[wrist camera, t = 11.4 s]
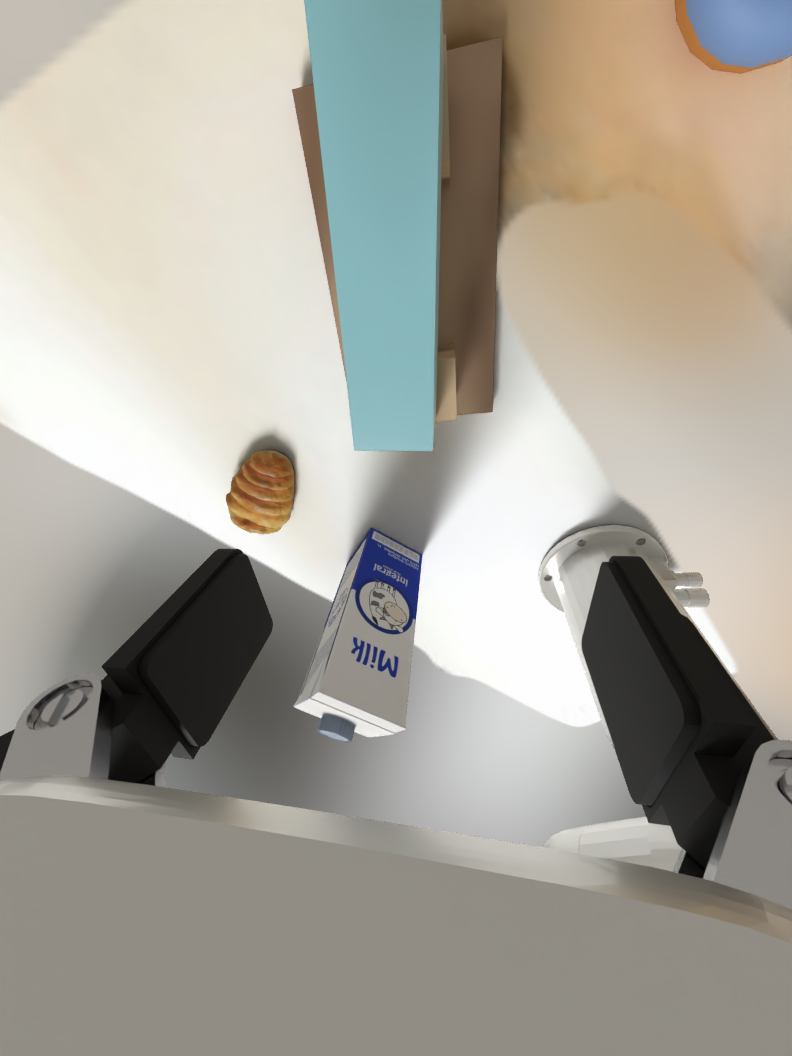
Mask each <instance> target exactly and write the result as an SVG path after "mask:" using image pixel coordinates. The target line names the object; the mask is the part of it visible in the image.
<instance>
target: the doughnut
mask: <svg viewBox="0 0 792 1056" xmlns="http://www.w3.org/2000/svg"><path fill="white" fill-rule="evenodd" d="M675 9H676V20H677V23H678V26H679V28H680V30H681V32H682V35H683V37H684V39H685V41H686V44H687V46H688V48H689V50H690V52H691V53H692V54H693V55H695V56H696V57H697V58H698V59H700V60H701V61H702V62H703V63H705V64H706V65H707V66H708V67H710V68H711V69H712V70H719V71H726V72H733V73H740V74H741V73H745V72H748V71H751V70H755V69H758V68H762V67H765V66H769V65H772V64H776V63H778V62H781V61H783V60H784V59H786V58H788V57H790V56H792V0H675Z"/></svg>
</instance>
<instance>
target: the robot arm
mask: <svg viewBox="0 0 792 1056" xmlns="http://www.w3.org/2000/svg"><path fill="white" fill-rule="evenodd" d="M702 583H703V578H702V576H701V574H700V573H674V572H673V571H670V570H669V569H668V558H667V556H666V553H665V551H664V549H663V548H662V547H661V545H660V544H659V543H658V541H657V540H655V539H654V538H653V537H652V536H651V535H650V534H648V533H646V532H644V531H642V530H640V529H636V528H633V527H630V526H622V525H604V526H598V527H592V528H589V529H585V530H582V531H579V532H577V533H575V534H573V535H571V536H568V537H567V538H565V539H564V540H562V541H561V542H559V543H558V544H557V545H556V546H555V547H553V548H552V549H551V550H550V551H549V553H548V554H547V555H546V557H545V558H544V560H543V562H542V564H541V566H540V570H539V584H540V587H541V591H542V593H543V595H544V597H545V598H546V600H547V601H548V602H549V603H550V604H551V605H553V606H554V607H555V608H557V609H558V610H560V611H562V612H564V613H565V615H566V618H567V621H568V624H569V627H570V630H571V633H572V636H573V639H574V642H575V645H576V648H577V650H578V653H579V656H580V659H581V662H582V665H583V668H584V671H585V674H586V677H587V680H588V683H589V685H590V688H591V691H592V694H593V697H594V700H595V703H596V706H597V709H598V712H599V715H600V718H601V721H602V724H603V727H604V730H605V732H606V734H607V737H608V739H609V741H610V743H611V744H612V746H613V748H614V749H615V751H616V754H617V757H618V760H619V763H620V766H621V769H622V772H623V775H624V778H625V781H626V784H627V787H628V790H629V793H630V795H631V797H632V799H633V801H634V802H635V803H636V804H642V806H643V809H644V812H645V815H646V817H640V818H633V819H626V820H620V821H613V822H605V823H599V824H591V825H587V826H581V827H575V828H571V829H567V830H563V831H561V832H558V833H556V834H555V835H553V836H552V837H550V838H549V839H548V840H547V841H546V842H545V844H544V845H543V847H538V846H532V845H526V844H520V843H513V842H508V841H501V840H495V839H489V838H483V837H476V836H471V835H464V834H458V833H452V832H445V831H440V830H434V829H428V828H421V827H415V826H409V825H403V824H396V823H390V822H383V821H378V820H371V819H364V818H359V817H352V816H346V815H340V814H333V813H327V812H320V811H314V810H308V809H302V808H295V807H289V806H283V805H276V804H269V803H263V802H257V801H250V800H243V799H237V798H230V797H224V796H217V795H211V794H204V793H198V792H191V791H185V790H178V789H171V788H166V776H165V761H166V759H167V758H168V756H169V755H170V753H171V754H172V755H173V756H174V757H179V758H185V759H194V757H195V755H196V754H197V752H198V750H199V749H200V747H201V746H204V745H205V744H206V743H207V742H208V741H209V739H210V738H211V736H212V734H213V732H214V731H215V729H216V727H217V725H218V724H219V722H220V720H221V719H222V717H223V715H224V713H225V712H226V710H227V708H228V706H229V705H230V703H231V701H232V699H233V698H234V696H235V694H236V693H237V691H238V689H239V687H240V686H241V684H242V682H243V680H244V679H245V677H246V675H247V673H248V672H249V670H250V668H251V667H252V665H253V663H254V661H255V660H256V658H257V656H258V654H259V653H260V651H261V649H262V648H263V646H264V644H265V642H266V641H267V639H268V637H269V635H270V634H271V631H272V627H273V622H272V618H271V616H270V613H269V611H268V608H267V605H266V603H265V600H264V597H263V595H262V592H261V590H260V587H259V584H258V582H257V579H256V577H255V574H254V571H253V569H252V566H251V563H250V561H249V559H248V556H247V555H245V554H243V552H242V551H241V550H239V549H218V550H216V551H215V552H214V553H213V554H212V555H211V556H210V557H209V558H208V559H207V560H206V561H205V562H204V563H203V564H202V565H201V566H200V567H199V568H198V569H197V570H196V571H195V572H194V573H193V574H192V575H191V576H190V577H189V578H188V579H187V580H186V581H185V582H184V583H183V584H182V585H181V587H179V588H178V589H177V590H176V591H175V592H174V594H172V595H171V596H170V598H169V599H168V600H167V601H166V602H165V603H164V604H163V605H162V606H161V607H160V608H159V609H158V610H157V611H156V612H155V613H154V614H153V615H152V616H151V617H150V618H149V619H148V620H147V621H146V622H145V623H144V624H143V625H142V626H141V627H140V628H139V629H138V630H137V631H136V632H135V633H134V634H133V635H132V636H131V637H130V638H129V639H128V640H127V641H126V642H125V643H124V644H123V645H122V646H121V647H120V648H119V649H118V651H116V652H115V653H114V654H113V655H112V656H111V657H110V658H109V659H108V661H106V663H105V664H104V665H103V666H102V668H103V669H104V670H105V672H106V673H107V674H108V675H107V676H106V677H105V678H104V679H103V680H101V679H100V678H99V677H98V676H97V675H94V674H80V675H76V676H73V677H70V678H67V679H65V680H63V681H61V682H59V683H57V684H55V685H53V686H52V687H50V688H49V689H47V690H46V691H44V692H43V693H42V694H40V695H39V696H38V697H37V698H36V699H35V700H33V701H32V702H31V703H30V704H29V706H28V707H27V708H26V709H25V710H24V712H23V713H22V715H21V717H20V718H19V720H18V722H17V726H16V728H15V729H14V730H12V731H10V732H8V733H6V734H4V735H2V736H0V1056H792V741H790V740H778V738H777V737H776V736H775V734H774V733H773V732H772V730H771V729H770V728H769V726H768V725H767V724H766V722H765V721H764V720H763V718H762V717H761V716H760V714H759V713H758V712H757V710H756V709H755V707H754V706H753V705H752V703H751V702H750V700H749V699H748V697H747V696H746V695H745V694H744V692H743V691H742V689H741V688H740V686H739V685H738V684H737V682H736V681H735V679H734V678H733V676H732V675H731V674H730V672H729V671H728V669H727V668H726V667H725V665H724V664H723V662H722V661H721V660H720V658H719V657H718V655H717V654H716V653H715V651H714V650H713V648H712V647H711V645H710V644H709V643H708V641H707V640H706V638H705V637H704V636H703V634H702V633H701V631H700V630H699V629H698V627H697V626H696V624H695V623H694V622H693V620H692V619H691V617H690V616H689V614H688V613H687V612H686V610H685V609H684V607H707V606H708V605H709V600H710V599H709V594H708V593H707V591H706V590H705V589H701V588H699V589H698V588H682V589H675V587H676V586H701V585H702ZM683 606H684V607H683Z"/></svg>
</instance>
